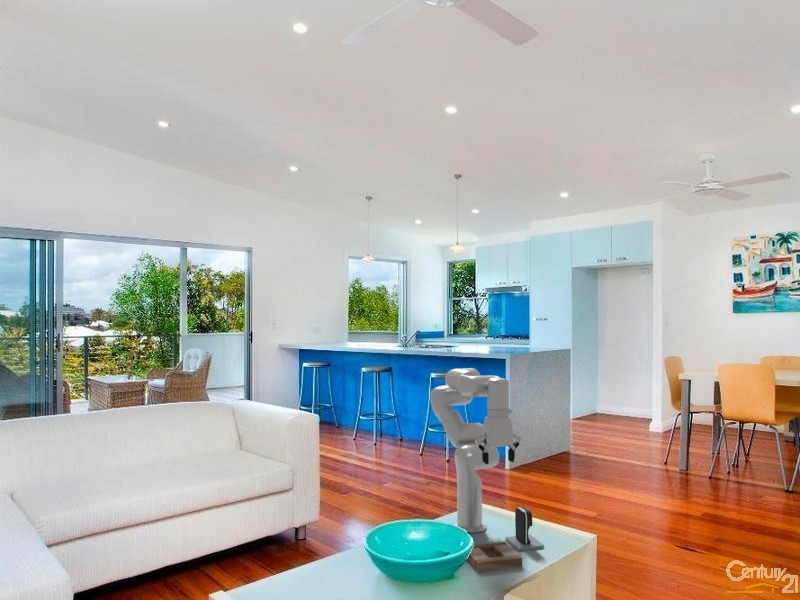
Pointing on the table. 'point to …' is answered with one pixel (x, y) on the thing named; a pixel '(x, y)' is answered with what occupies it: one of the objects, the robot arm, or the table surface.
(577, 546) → the table surface
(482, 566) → the holder
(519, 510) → the battery charger
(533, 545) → the tile
